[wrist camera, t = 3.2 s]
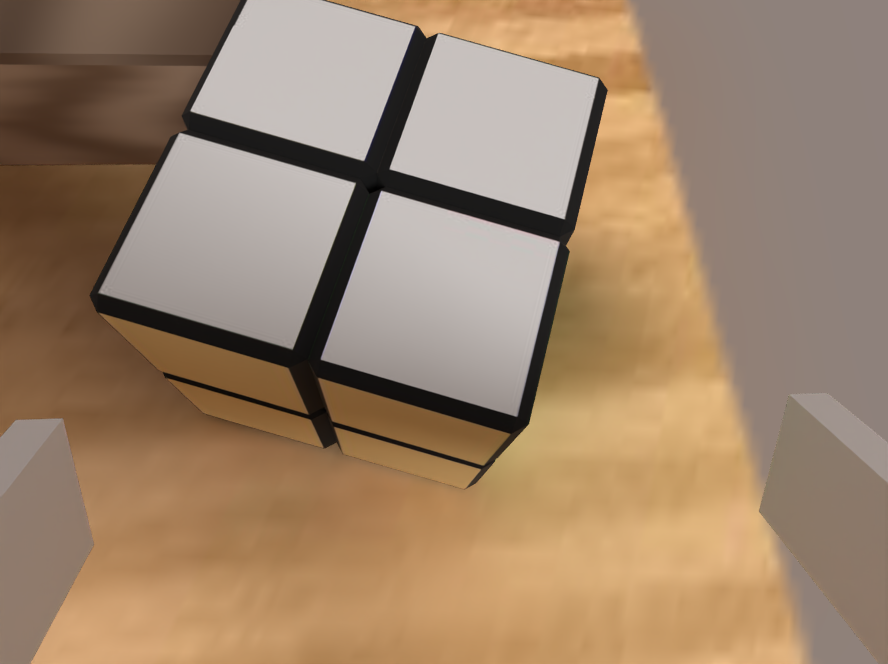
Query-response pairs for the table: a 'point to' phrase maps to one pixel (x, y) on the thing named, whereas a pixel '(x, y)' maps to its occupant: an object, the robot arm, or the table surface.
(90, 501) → the table surface
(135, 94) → the walnut stand
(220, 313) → the puzzle cube
